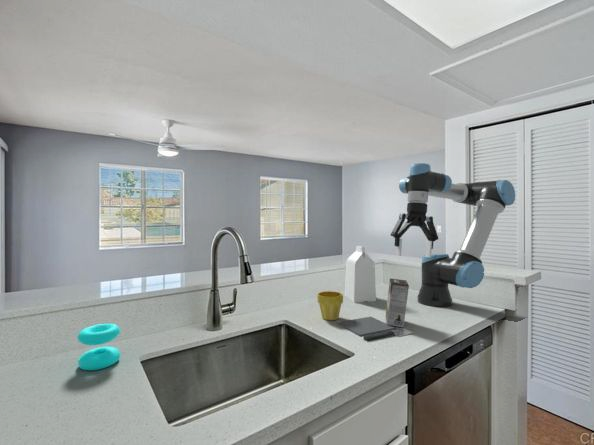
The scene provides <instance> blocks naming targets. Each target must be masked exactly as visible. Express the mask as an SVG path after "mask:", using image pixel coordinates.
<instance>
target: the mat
mask: <svg viewBox="0 0 594 445" xmlns="http://www.w3.org/2000/svg"><path fill="white" fill-rule="evenodd" d="M336 323H337V324H338V325H339V326H340V327H342V328H344V329H347V330H348V331H350V332H351V333H353V334H355V335H357V336H359V337H362V336H368V335H373V334H378V333H383V332H388V331H391V330H396V326H391V325H387V323H386V322H384V321H382V320H379V319H378V318H375V317H373V316H366V317H360V318H355V319H350V320H344V321H343V320H342V321H338V322H336Z"/></svg>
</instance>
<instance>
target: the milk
mask: <svg viewBox="0 0 594 445" xmlns="http://www.w3.org/2000/svg"><path fill="white" fill-rule="evenodd" d="M375 265H376V264H375V262H374V261H373V259H372V258H371V257H370V256H369V254H368V253H366V250H365V247H364V246H361V245H356V247H355V251H354V252H353V253H352V254H351V255H349V257H348V258H347V259H346V262H345V280H344V294H343V296H344V295H345V296H346V297H348V298H349V299H348V298H347V299H348V300H350V301H351V300H352V301H351V302H353V303H365V302H364V301H368V302H377V292H376V290H377V289H376V268H375V267H376V266H375ZM345 296H344V297H345ZM346 297H345V298H346Z"/></svg>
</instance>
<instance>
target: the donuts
mask: <svg viewBox="0 0 594 445" xmlns="http://www.w3.org/2000/svg"><path fill="white" fill-rule="evenodd" d="M120 332H121V329H120V327H119V326H118V325H117V324H115V323H99V324H93V325H91V326H87V327H85V328H83V329H82V330H81V331H80V332H78V334H77V340H78V342H79V343H81V344H82V345H86V346H98V345H99V347H96V348H91V349H90V350H87V351H86V352H84V353H83V354H81V355H80V357H79V359H78V361H77V365H78V367H79V368H80V369H81V370H84V371H97V370H103V369H105V368H108V367H111V366H113V365H114V364H116V363H117V362H118V361H119V360H120V358H121V352H120V350H119V349H118V348H117V347H114V346H100V345H103V344H107V343H110V342H111V341H113V340H114V339H116V338H117V337H118V336H119V335H120Z"/></svg>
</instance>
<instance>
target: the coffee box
mask: <svg viewBox="0 0 594 445" xmlns="http://www.w3.org/2000/svg"><path fill="white" fill-rule="evenodd" d="M409 287H410V285H409V283H408V282H407V280H404V279H399V278H398V279H397V278H389V283H388V294H387V301H386V309H385V310H386V311H385V321H386V322H385V323H386V324H387V325H391V326H393V327H399V328H404V326H405V319H406V313H407V312H406V310H407V303H408V295H409Z"/></svg>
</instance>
